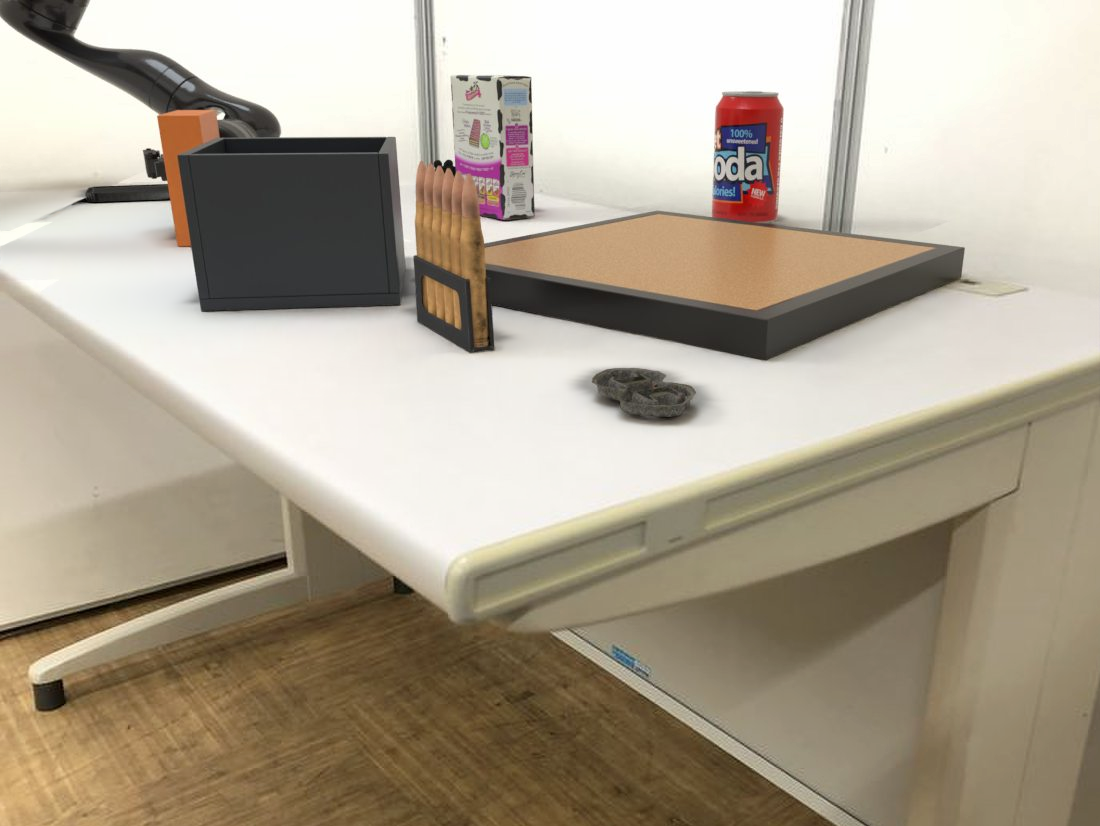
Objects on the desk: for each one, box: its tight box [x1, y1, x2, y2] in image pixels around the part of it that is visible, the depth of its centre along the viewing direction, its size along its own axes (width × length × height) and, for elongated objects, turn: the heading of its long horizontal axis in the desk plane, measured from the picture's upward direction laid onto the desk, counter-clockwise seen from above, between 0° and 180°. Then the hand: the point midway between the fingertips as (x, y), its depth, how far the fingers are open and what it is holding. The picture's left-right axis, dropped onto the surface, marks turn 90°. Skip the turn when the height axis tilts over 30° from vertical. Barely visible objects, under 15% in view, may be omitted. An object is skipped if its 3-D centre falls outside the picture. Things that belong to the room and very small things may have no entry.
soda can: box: [711, 90, 785, 224], centre depth 124 cm, size 8×8×15 cm
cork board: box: [484, 210, 966, 361], centre depth 95 cm, size 36×3×35 cm
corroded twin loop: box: [591, 367, 697, 418], centre depth 64 cm, size 5×8×1 cm, turn 30°
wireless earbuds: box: [433, 159, 456, 177], centre depth 146 cm, size 7×2×5 cm, turn 120°
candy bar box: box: [449, 74, 536, 221], centre depth 130 cm, size 11×5×16 cm, turn 40°
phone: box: [84, 183, 170, 203], centre depth 144 cm, size 8×1×15 cm
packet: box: [156, 110, 220, 247], centre depth 113 cm, size 4×9×13 cm, turn 10°
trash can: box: [177, 136, 406, 312], centre depth 90 cm, size 16×16×12 cm
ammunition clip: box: [412, 160, 495, 354], centre depth 76 cm, size 11×2×12 cm, turn 31°
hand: (190, 170), depth 110 cm, fingers open, 4 cm apart
